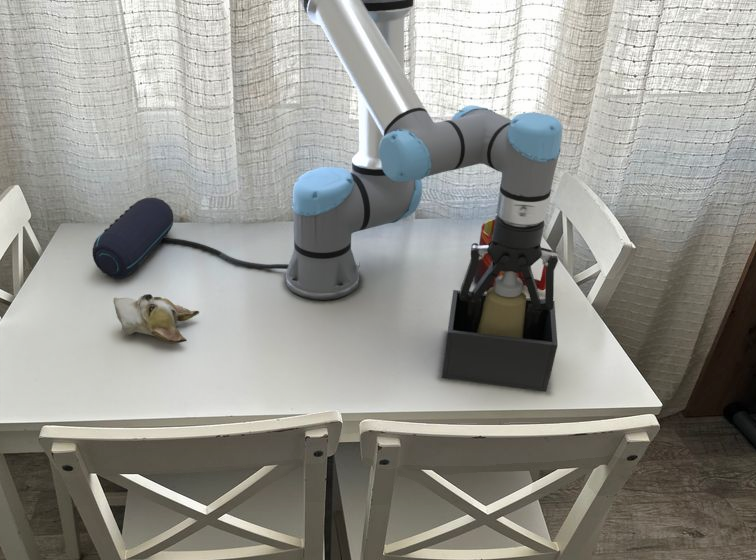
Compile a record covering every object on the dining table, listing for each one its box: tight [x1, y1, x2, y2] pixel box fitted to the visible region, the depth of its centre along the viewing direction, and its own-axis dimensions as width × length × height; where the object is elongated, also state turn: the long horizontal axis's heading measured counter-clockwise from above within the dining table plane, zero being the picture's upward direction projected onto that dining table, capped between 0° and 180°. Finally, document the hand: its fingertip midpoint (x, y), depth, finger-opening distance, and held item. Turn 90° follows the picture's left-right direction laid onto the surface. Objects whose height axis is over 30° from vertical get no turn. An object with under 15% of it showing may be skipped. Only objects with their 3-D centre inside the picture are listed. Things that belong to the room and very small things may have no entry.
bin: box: [441, 289, 559, 393], centre depth 126 cm, size 18×14×10 cm
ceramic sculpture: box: [112, 293, 200, 344], centre depth 135 cm, size 11×9×15 cm
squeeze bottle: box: [477, 271, 527, 339], centre depth 122 cm, size 8×8×18 cm
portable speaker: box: [92, 197, 174, 279], centre depth 159 cm, size 25×10×10 cm, turn 164°
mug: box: [473, 218, 554, 292], centre depth 147 cm, size 10×14×12 cm
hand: (499, 336), depth 126 cm, fingers closed on squeeze bottle, 8 cm apart
